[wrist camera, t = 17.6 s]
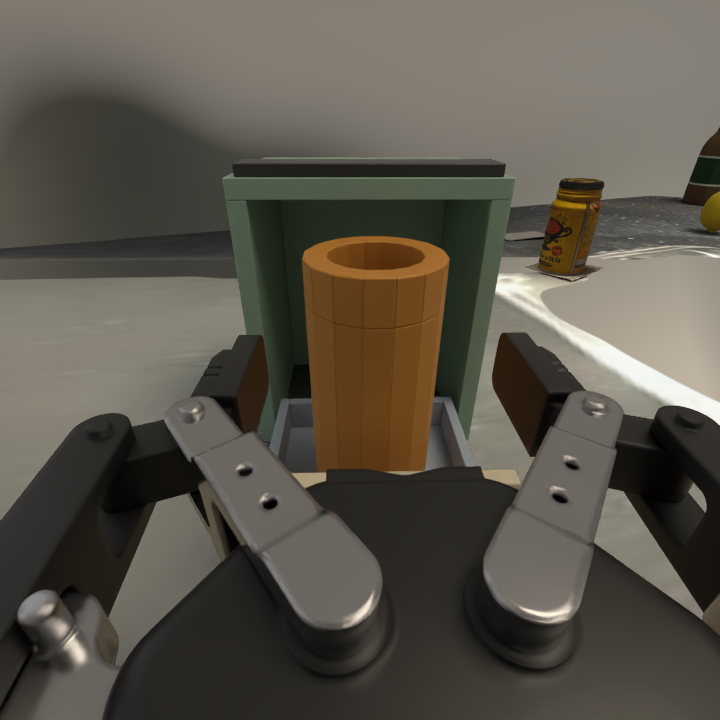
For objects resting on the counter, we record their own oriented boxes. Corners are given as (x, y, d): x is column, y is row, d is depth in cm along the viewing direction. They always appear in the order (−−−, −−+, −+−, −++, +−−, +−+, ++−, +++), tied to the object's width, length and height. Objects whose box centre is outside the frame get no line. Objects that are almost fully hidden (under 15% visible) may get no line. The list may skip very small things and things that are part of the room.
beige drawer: (253, 586, 19) (231, 488, 16) (284, 431, 28) (275, 349, 25) (493, 581, 19) (522, 483, 16) (446, 429, 29) (457, 347, 25)
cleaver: (493, 237, 77) (506, 244, 73) (494, 230, 77) (507, 237, 72) (558, 231, 79) (574, 237, 75) (559, 224, 78) (576, 230, 74)
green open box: (263, 442, 28) (219, 163, 19) (284, 359, 37) (262, 147, 28) (468, 439, 28) (518, 164, 19) (438, 358, 38) (462, 148, 29)
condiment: (524, 268, 60) (543, 179, 54) (556, 257, 64) (577, 174, 58) (572, 282, 55) (599, 185, 49) (603, 270, 59) (632, 180, 53)
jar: (314, 521, 21) (294, 278, 14) (321, 442, 26) (309, 235, 20) (431, 519, 21) (464, 277, 15) (415, 440, 26) (434, 235, 20)
